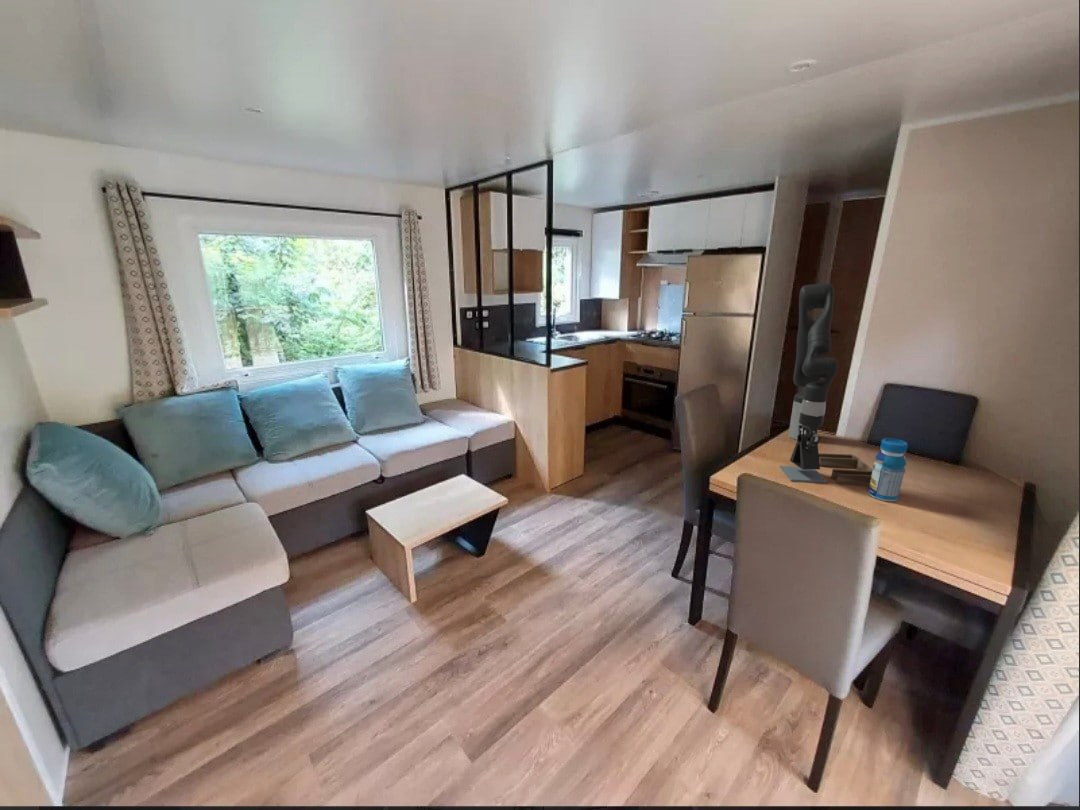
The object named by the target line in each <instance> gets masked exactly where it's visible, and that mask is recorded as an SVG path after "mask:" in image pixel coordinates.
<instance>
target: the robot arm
mask: <svg viewBox="0 0 1080 810" xmlns="http://www.w3.org/2000/svg"><path fill="white" fill-rule="evenodd" d="M798 297H799V300H798V310H799V311H798V328H797V335H796V359H795V362H794V363H795V364H794V371H793V376H792V377H793V378H792V379H793V380H792V381H793V384H794V385H795V386H797V387H803V388H804V391H803V392H799V393H798V392H797V393H796V394H795V395H794V397H793V403H792V411H791V416H790V423H789V429H788V437H789V438H790V439H792V440H796V441H797V437H798V435H799V434H805V442H806V446H805V448H806V449H807V453H810V454H811V452H812V449H816V448H817V446H818V447H819V443H820V441H821V436H818V437H817V435H818V428H821V427H822V426H823V425H824V420H825V414H826V408H827V404H826V403H827V397H828V393H829V389H830V386H831V384H832V382H833V380H834V377H836V374H837V373H838V370H839V362H838V360H837V359H836V358H834V357H828V356H827V357H824V356H826V355H828V354H830V353H831V350H832V340H831V339H832V338H831V331H832V330H831V327H832V321H833V314H834V303H835V302H834V301H835V288H834V285H833V284H832V283H814V284H806V285H802V287H801V288H800V290H799V296H798ZM819 309H822V312H821V314H820V315H819V317H818V318H817V319H816V320H815V319H814V317H813V316H812V314H811V312H810V310H819ZM807 439H808V440H807ZM808 443H809V444H808Z"/></svg>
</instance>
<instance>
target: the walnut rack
mask: <svg viewBox="0 0 1080 810" xmlns="http://www.w3.org/2000/svg"><path fill="white" fill-rule="evenodd" d="M819 463H820V467H827V468H829V467H830V468H831V467H832V471H831V477H830V478H831V479H833V480H835V483H836V484H838V485H856V486H869V485H870V480H871V476H872V471H873V467H871V466H869V465H868V464H866V463H865V462H864V461H863V460H862V459H860V458H859V457H858V456H856V455H855V454H849V453H848V454H847V453H846V454H845V453H827V452H826V453H825V452H823V453H822V452H819ZM839 468H840V469H839ZM841 468H842V469H841ZM843 468H847V469H843ZM851 468H853V469H851Z"/></svg>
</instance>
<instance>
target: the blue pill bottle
mask: <svg viewBox="0 0 1080 810" xmlns="http://www.w3.org/2000/svg"><path fill="white" fill-rule="evenodd" d="M908 446H909V445H908V443H907V442H906V441H905V440H902V439H898V438H894V437H893V438H891V437H884V438H882V439H881V442H880V447H879V448H880V451H879V452H878V453H877V454H876V455H875V457H874V459H875V461H874V462H873V464H872V469H873V471H872V476H871V480H870V485H868V490H867V493H868V495H870V497H872V498H874V499H876V500H879V501H884V502H896V501H897V500H898V499H899V494H900V491H901V486H902V484H903V483H902V482H903V479H904V475H905V472H906V468H905V467H906V465H907V458H906V456H905V454H906V453H907V450H908Z"/></svg>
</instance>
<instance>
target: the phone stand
mask: <svg viewBox="0 0 1080 810" xmlns="http://www.w3.org/2000/svg"><path fill="white" fill-rule="evenodd" d="M817 437H819V436H818V434H817ZM807 440H808V439H807ZM808 444H809V443H808ZM805 446H806V442H805V434H799V435H798V437H797V440H796V443H795V445H794V448H793V451H792V453H791V456H790V459H789V462H791V463H792V464H794V465H795V466H798V467H800V468H801V469H803V470H808V469H816V470H820V469H821V466H820V463H819V453H820V452H819V445H818V446H817V448H816V449H812V452H811V454H810V453H807V449H806V448H805Z"/></svg>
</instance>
